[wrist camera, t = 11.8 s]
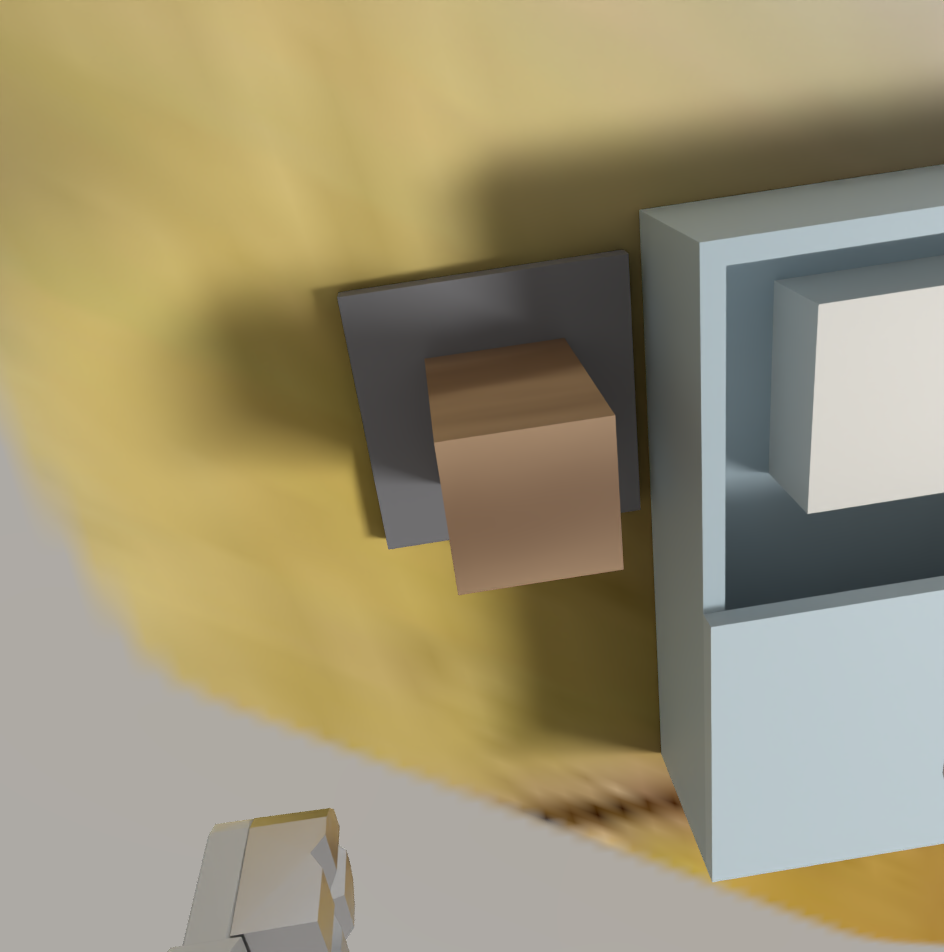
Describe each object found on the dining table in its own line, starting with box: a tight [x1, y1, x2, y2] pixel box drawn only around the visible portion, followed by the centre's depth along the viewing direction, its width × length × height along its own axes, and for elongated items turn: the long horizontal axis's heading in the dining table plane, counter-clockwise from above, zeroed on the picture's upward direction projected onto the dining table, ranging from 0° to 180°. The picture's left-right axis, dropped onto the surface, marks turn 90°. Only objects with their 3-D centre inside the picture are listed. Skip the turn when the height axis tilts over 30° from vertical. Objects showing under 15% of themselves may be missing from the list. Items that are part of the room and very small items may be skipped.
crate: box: [639, 164, 944, 882], centre depth 25 cm, size 20×16×6 cm
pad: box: [337, 249, 641, 549], centre depth 25 cm, size 8×8×1 cm
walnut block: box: [424, 338, 624, 595], centre depth 22 cm, size 4×4×6 cm
